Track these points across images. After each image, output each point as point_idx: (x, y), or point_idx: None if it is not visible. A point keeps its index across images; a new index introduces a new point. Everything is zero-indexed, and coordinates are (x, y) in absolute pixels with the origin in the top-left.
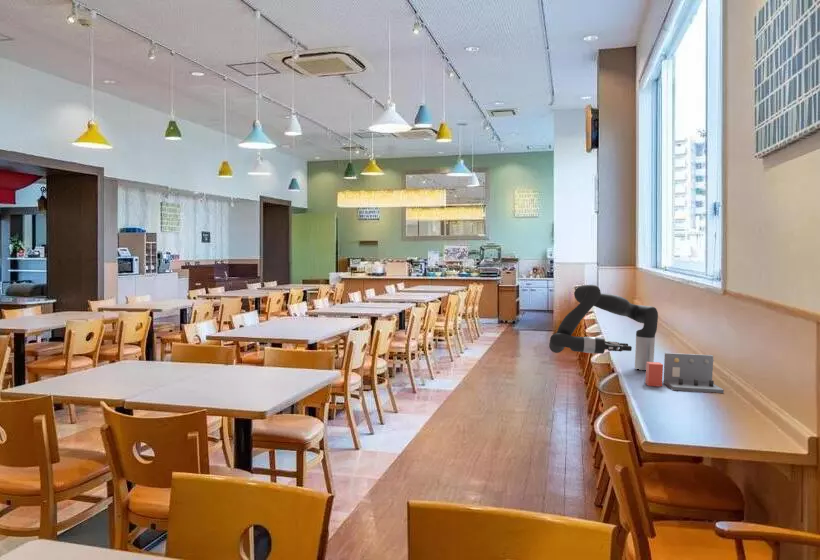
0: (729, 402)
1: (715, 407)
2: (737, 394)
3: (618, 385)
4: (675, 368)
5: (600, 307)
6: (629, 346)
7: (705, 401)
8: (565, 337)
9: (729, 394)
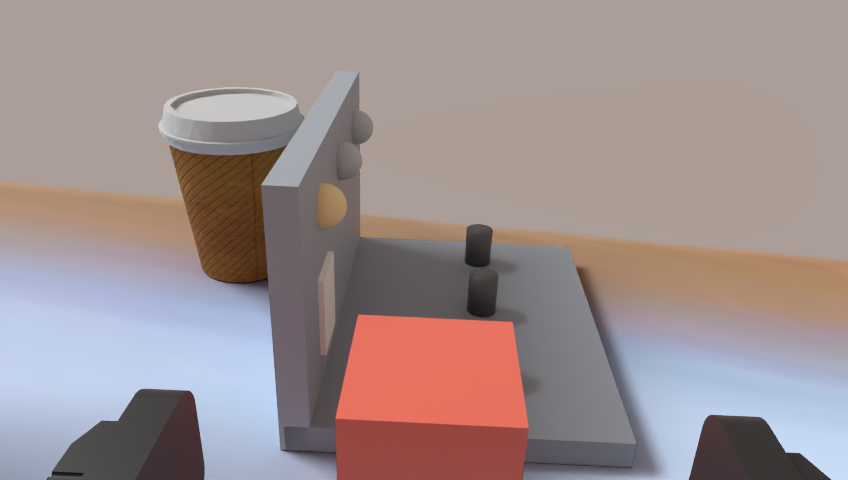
0: (829, 300)
1: None
2: (565, 234)
3: None
4: (328, 278)
5: None
6: (780, 458)
7: None
8: None
9: (585, 254)
